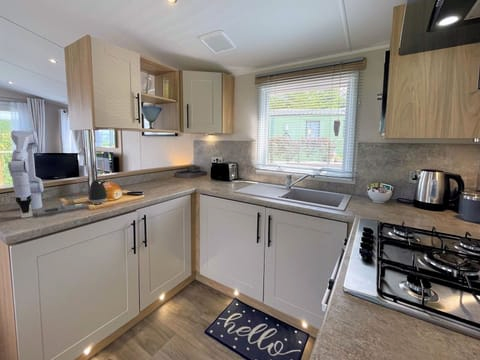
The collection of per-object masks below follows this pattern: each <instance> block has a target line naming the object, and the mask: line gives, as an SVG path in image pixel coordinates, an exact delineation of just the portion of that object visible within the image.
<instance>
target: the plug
mask: <svg viewBox="0 0 480 360" xmlns="http://www.w3.org/2000/svg"><path fill="white" fill-rule="evenodd" d="M19 209H20V216H21V219H24V218H28V217H29V218H30V217H33V211H32V210H33V209H31V205H29V213H23V212H22V210H21V208H20V207H19Z"/></svg>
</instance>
